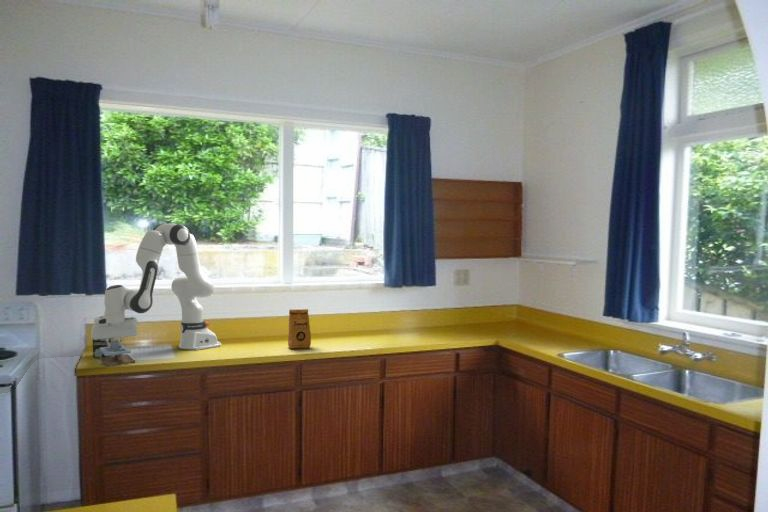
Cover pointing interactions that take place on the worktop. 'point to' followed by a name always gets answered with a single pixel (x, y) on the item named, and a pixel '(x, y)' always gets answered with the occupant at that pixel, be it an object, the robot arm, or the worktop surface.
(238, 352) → the worktop surface
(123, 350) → the panel
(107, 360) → the board
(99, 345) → the chalk box
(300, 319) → the coffee package
